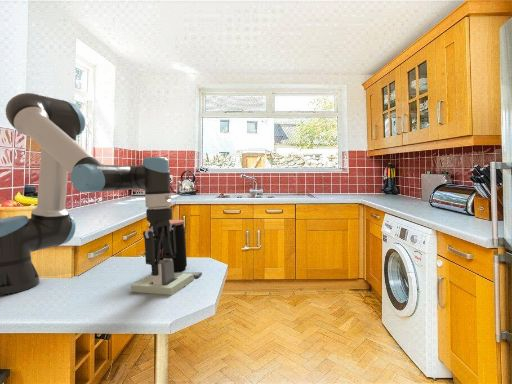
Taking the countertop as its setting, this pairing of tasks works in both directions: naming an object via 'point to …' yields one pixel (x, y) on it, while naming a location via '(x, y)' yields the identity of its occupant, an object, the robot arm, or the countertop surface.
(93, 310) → the countertop surface
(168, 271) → the block
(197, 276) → the phone
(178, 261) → the coffee jar
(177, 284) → the outlet plate
